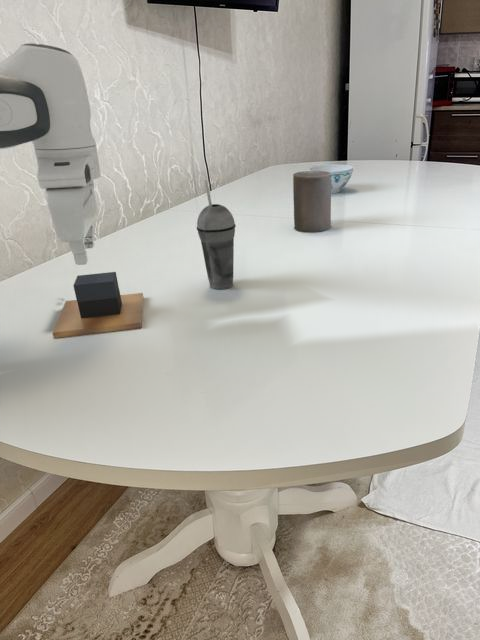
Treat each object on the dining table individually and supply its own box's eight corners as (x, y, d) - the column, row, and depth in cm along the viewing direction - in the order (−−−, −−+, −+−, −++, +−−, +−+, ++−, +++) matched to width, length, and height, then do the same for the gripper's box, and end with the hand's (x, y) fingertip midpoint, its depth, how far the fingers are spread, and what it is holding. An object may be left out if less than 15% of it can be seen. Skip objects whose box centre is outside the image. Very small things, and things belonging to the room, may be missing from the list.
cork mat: (53, 338, 85) (52, 332, 84) (66, 306, 97) (65, 300, 96) (141, 328, 86) (140, 322, 86) (143, 297, 99) (142, 292, 98)
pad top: (77, 302, 87) (73, 285, 86) (80, 291, 92) (77, 275, 90) (116, 298, 88) (113, 281, 87) (118, 287, 92) (115, 271, 91)
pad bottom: (81, 318, 89) (77, 302, 87) (84, 307, 93) (81, 291, 92) (120, 314, 89) (117, 298, 88) (121, 303, 94) (119, 287, 92)
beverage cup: (245, 287, 101) (237, 180, 91) (208, 294, 98) (197, 184, 89) (233, 276, 107) (224, 174, 97) (198, 282, 104) (186, 178, 95)
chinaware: (329, 185, 188) (329, 163, 185) (361, 190, 178) (362, 166, 174) (299, 192, 180) (298, 169, 176) (331, 198, 169) (331, 173, 166)
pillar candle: (290, 232, 135) (288, 171, 128) (298, 222, 143) (297, 165, 136) (327, 233, 132) (327, 171, 125) (334, 223, 140) (335, 164, 134)
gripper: (59, 159, 89) (74, 240, 95) (34, 178, 71) (55, 275, 77) (97, 158, 90) (110, 237, 96) (82, 175, 72) (99, 272, 78)
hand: (85, 255), depth 86 cm, fingers open, 8 cm apart
